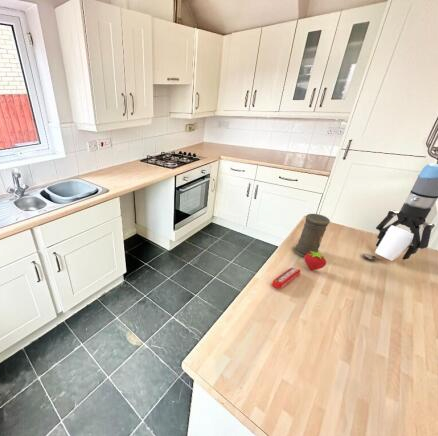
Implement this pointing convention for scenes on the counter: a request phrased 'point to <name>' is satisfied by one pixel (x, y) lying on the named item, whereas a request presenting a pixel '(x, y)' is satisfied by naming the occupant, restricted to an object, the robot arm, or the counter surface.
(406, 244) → the foam cup
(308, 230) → the container
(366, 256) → the puck
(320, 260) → the strawberry
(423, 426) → the counter surface
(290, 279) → the candy bar
